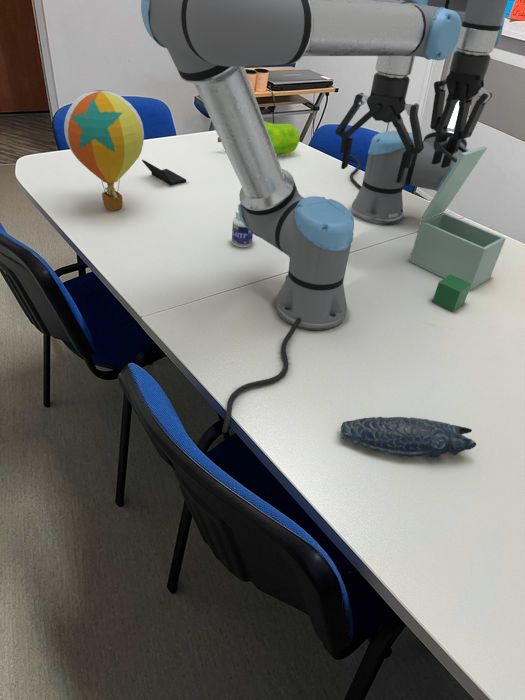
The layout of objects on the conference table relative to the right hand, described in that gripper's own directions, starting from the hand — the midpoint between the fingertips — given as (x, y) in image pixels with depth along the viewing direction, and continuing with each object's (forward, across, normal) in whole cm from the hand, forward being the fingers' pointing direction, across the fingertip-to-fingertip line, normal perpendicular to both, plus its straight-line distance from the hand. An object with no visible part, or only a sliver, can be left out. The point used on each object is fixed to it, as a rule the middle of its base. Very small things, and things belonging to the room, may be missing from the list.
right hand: (440, 164), depth 123 cm
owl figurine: (+24, -38, +58) cm, 73 cm away
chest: (+24, -10, 0) cm, 26 cm away
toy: (+24, +66, +51) cm, 87 cm away
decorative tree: (+24, +80, -16) cm, 85 cm away
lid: (+4, -5, 0) cm, 6 cm away
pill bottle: (+24, +30, +35) cm, 52 cm away
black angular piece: (+24, +76, +28) cm, 85 cm away
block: (+24, -19, +14) cm, 33 cm away
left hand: (+3, +10, +14) cm, 17 cm away
